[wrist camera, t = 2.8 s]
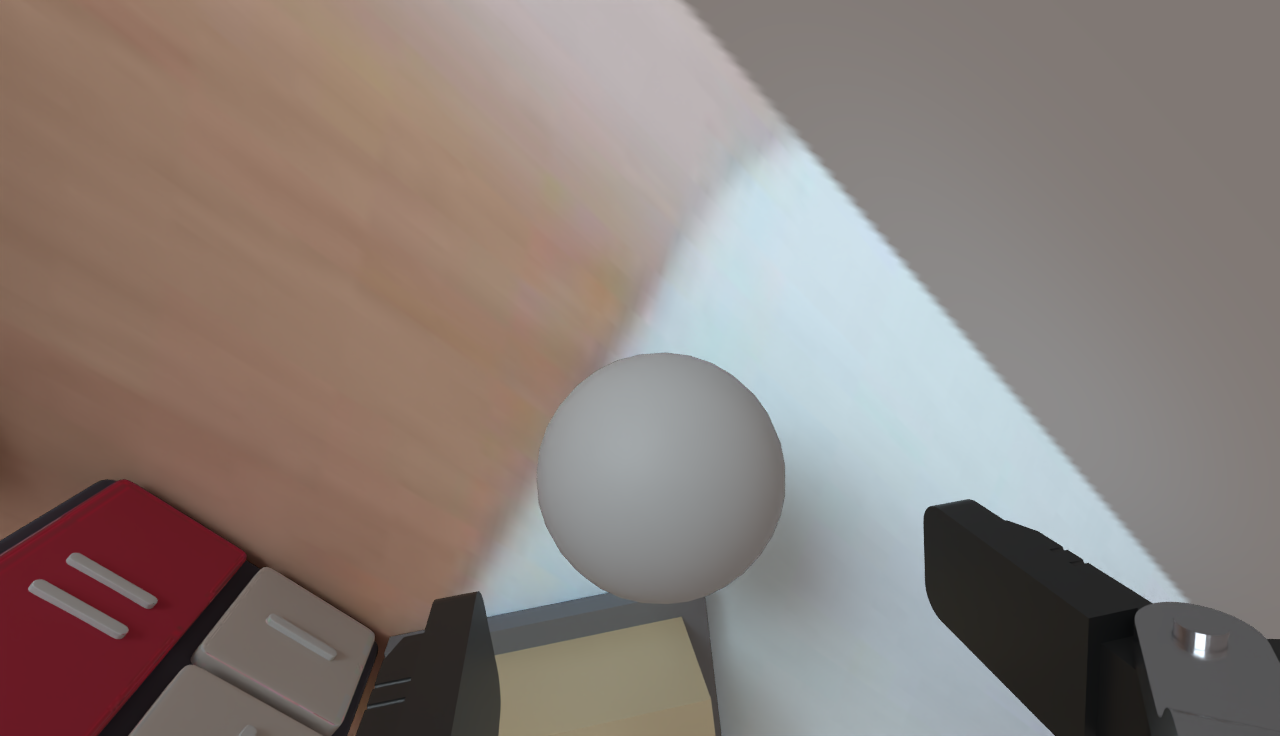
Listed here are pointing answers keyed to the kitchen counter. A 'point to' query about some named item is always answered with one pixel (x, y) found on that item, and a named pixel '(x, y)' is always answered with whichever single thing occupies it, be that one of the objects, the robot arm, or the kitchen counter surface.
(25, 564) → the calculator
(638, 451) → the lightbulb
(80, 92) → the kitchen counter surface
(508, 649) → the bulb holder
